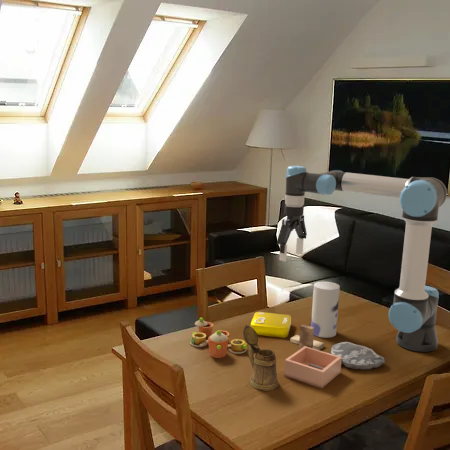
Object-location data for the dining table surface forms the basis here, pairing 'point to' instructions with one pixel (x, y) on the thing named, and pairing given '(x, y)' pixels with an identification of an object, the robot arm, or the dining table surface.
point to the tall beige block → (306, 336)
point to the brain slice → (357, 356)
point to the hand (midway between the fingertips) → (291, 257)
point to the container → (325, 309)
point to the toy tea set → (216, 340)
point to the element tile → (271, 324)
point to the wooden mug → (261, 363)
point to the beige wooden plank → (316, 344)
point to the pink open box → (312, 366)
